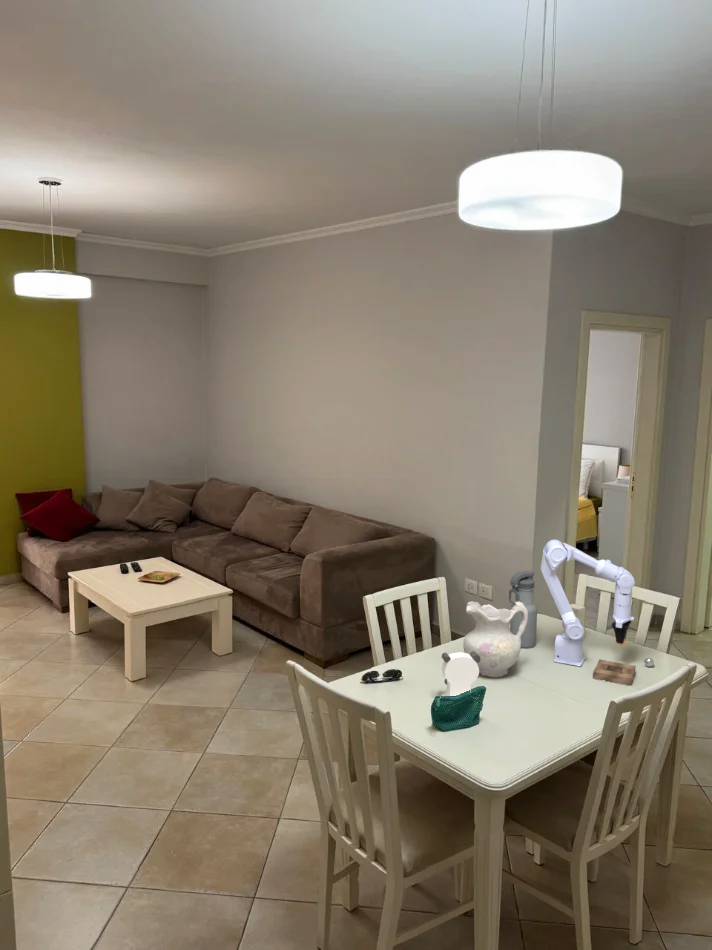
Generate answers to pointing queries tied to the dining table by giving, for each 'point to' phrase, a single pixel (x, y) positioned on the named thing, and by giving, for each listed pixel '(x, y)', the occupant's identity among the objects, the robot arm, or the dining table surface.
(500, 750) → the dining table surface
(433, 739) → the dining table surface
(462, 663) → the panda figurine
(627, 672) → the hole plate
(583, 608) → the skincare box
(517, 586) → the water bottle
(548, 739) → the dining table surface
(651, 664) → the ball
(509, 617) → the ceramic pitcher
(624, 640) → the ball
